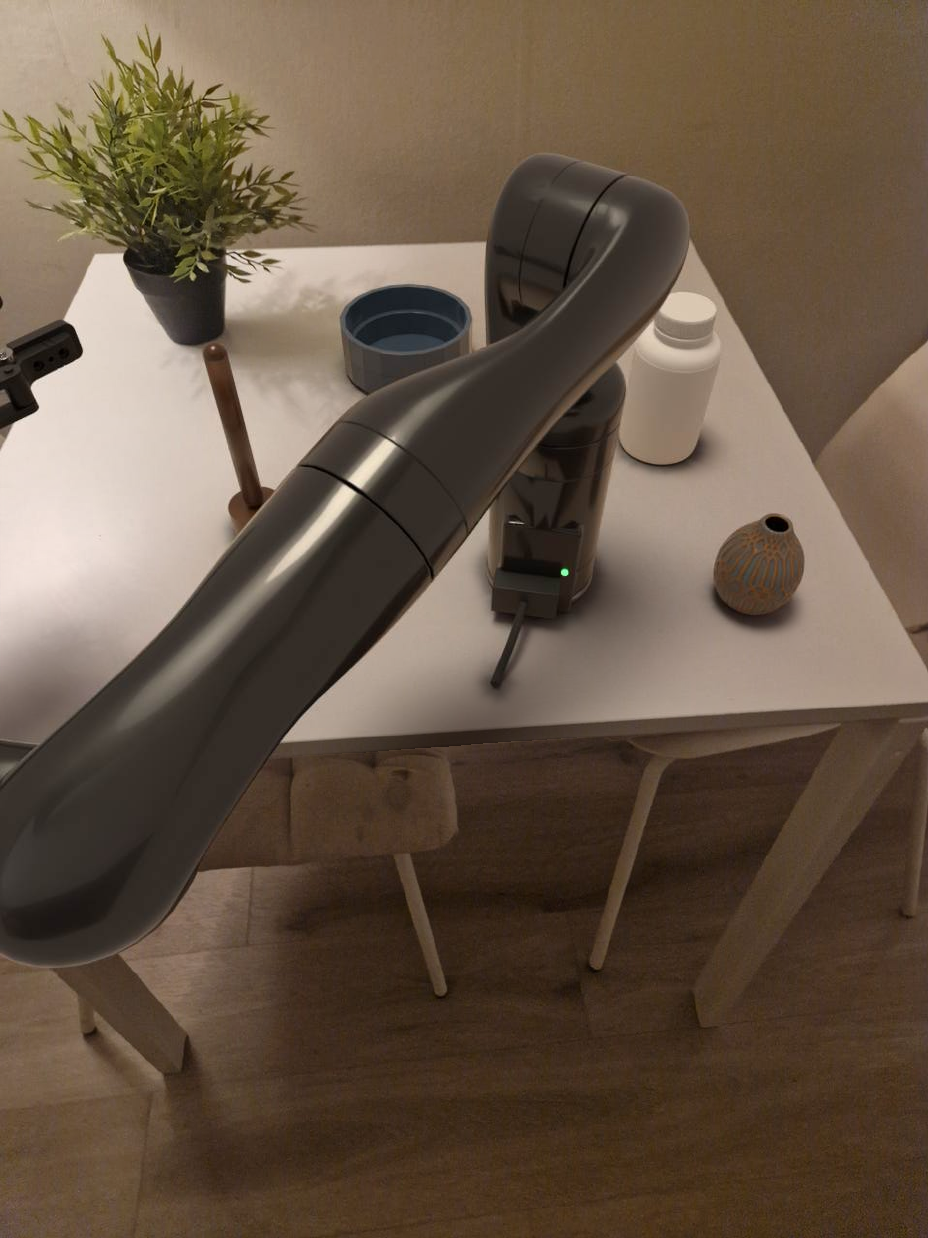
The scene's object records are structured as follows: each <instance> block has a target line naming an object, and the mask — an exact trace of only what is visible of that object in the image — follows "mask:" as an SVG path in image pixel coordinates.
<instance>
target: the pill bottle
mask: <svg viewBox="0 0 928 1238" xmlns="http://www.w3.org/2000/svg"><path fill="white" fill-rule="evenodd" d="M717 315H718V309H717V306H716V304H715V303H714V301H712V300H711V299H709V298H708V297H706V296H704V295H702V294H699V293H695V292H690V291H688V292H687V291H686V292H685V291H679V292H678V291H677V292H676V291H675V292H671V293H670V295H669V296H668V298H667V300H666V301H665V303H664V305H663V306H662V308H661V309H660V310H659V312H658V313H657V315H656V316H655V317H654V319H653V321H652V322H651V323H650V324H649V326H648V327H647V328H646V329H645V331H644V332H643V333H642V334H641V335H640V337H639V338H638V339H637V340H636V341H635V342H634V347H633V353H632V359H631V364H630V368H629V369H630V370H629V375H628V380H627V384H626V397H625V404H624V409H623V414H622V418H621V423H620V428H619V434H618V439H619V442H620V445H621V447H622V448H623V449H624V450H625V452H626V453H627V454H628V455H630V456H631V457H633V458H635V459H637V460H638V461H641V462H643V463H646V464H647V463H648V464H651V465H663V466H664V465H673V464H677V463H679V462H683V461H684V460H685V459H687V458H688V457H689V456H691V455H692V454H693V452H694V451H695V449H696V446H697V444H698V441H699V438H700V434H701V431H702V427H703V423H704V420H705V416H706V412H707V409H708V405H709V402H710V398H711V394H712V391H713V388H714V383H715V380H716V377H717V373H718V370H719V367H720V362H721V359H722V355H723V351H722V350H723V349H722V348H723V347H722V343H721V340H720V338H719V336H718V334H717V333H716V332H715V331H714V326H715V322H716V318H717Z"/></svg>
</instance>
